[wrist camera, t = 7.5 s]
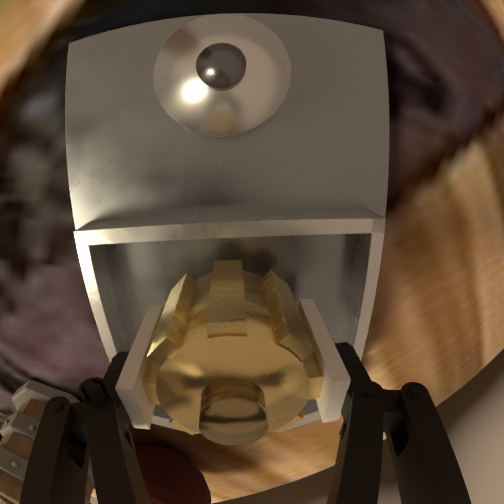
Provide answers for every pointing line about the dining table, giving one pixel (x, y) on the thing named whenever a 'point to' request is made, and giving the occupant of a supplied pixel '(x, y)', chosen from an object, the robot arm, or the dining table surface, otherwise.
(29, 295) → the dining table surface
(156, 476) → the potato
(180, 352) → the gear
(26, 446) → the tankard
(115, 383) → the robot arm
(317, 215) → the carrier
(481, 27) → the dining table surface
